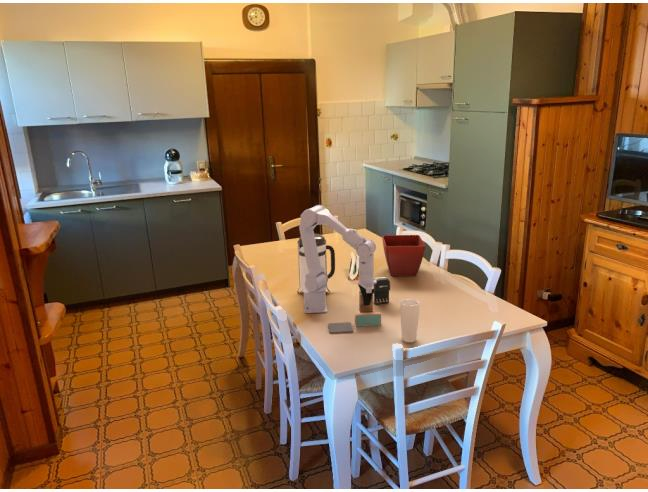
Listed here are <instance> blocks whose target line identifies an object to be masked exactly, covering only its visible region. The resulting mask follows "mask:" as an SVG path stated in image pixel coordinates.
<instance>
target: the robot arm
mask: <svg viewBox="0 0 648 492" xmlns="http://www.w3.org/2000/svg"><path fill="white" fill-rule="evenodd" d="M319 225H320V226H321V225H322V226H323V225H326V226H327V227H329V228H330V229H332V230H333V231H335V232H337V233H338V234H340V235H341V237H342V240H343V241H344V242H345V243H346V244H347V245H349V246H350V247H351V248H352V249H354V250H355V252H356V254H357V256H358V284H357V286H358V287H359V291H361V293H362V296H363V302H364V305H365V306H368V305H370V302H371V298H372V295H373V296H374V292H375V290H374V289H373V285H374V284H376V283H377V282H376V280H374V279H375V278H374V277H375V276H374V273H375V272H374V266H375V265H374V263H375V261H374V260H375V259H374V258H375V257H374V255H375V254H374V253H375V252H376V249H377V246H376V243H375V242H374V241H373V239H370V238H369V239H367V238H366V237H364V236H363V235H361V234H360V233H359V232H358V229H356V228H355V229H353V228H347V227H346V225H344V224H343V223H342V222H341V221H340V220H338V219H337V218H336V217H335V216H334V215H332V214H331V212H330V211H329V209H327V208H325V206H323V205H321V204H316V205H314V206H313V207H311V208H306V209H305V210H304V211H303V212H302V213H301V214H300V223H299V227H298V230H299V234H300V237H301V239H302V244H303V249H304V253H305V258H306V263H307V268H308V269H307V272H306V274H305V278H306V281H305V287H306V288H307V290H304V292H303V308H304V309H303V310H304V314H315V313H316V314H318V313H319V314H320V313H327V312H328V307H327V296H326V294H327V293H326V292H327V291H326V290H327V289H326V290H325V287H326V288H327V286H326V284H327V285H328V282H329V279H328V276H327V275H328V273H327V274H326V273H325V270H324V268H323V267H321V266H320V261H319V256H318V251H317V246H316V241H315V236H314V234H315V231H314V230H315V228H316V226H319Z"/></svg>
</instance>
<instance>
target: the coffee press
mask: <svg viewBox="0 0 648 492" xmlns="http://www.w3.org/2000/svg"><path fill="white" fill-rule="evenodd" d="M314 236H315V241H316V246H317V251H318V256H319V261H320V266H321V267H323V268H324V270H325V273H326V274H327V276H328V280H329V279H331V278H333V276H334V275H335V271H336V253H335V252H336V251H335V249H334V247H333V246H331V245H328V244H327V239H326V237H325V236H324V235H322V234H319V233H314ZM326 244H327V245H326ZM327 250H329V252H330V272H329V273H328V271H327V267H328V266H327V265H328V263H327V262H328V261H327ZM297 253H298V276H299V277H298V279H299V282H298V283H299V288H298V289H297V291H296V292H297V293H298V294H301V293H304V290H307V288H306V287H305V281H306V278H305V274H306V272H307V269H308V268H307V263H306V258H305V253H304V249H303V244H302V239H301V236H300V237H299V238H298V240H297ZM299 290H300V291H299ZM325 290H327V291H326V294H327V295H329V294H330V292H331V290H330V289H329V287H328V283H327V284H326V287H325ZM299 292H300V293H299Z"/></svg>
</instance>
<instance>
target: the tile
mask: <svg viewBox="0 0 648 492" xmlns="http://www.w3.org/2000/svg"><path fill="white" fill-rule="evenodd" d="M354 324H355V325H354V326H355V327H371V326H372V327H374V326H376V327H377V326H382V313H381V311H373V312H368V313H360V312H355V313H354Z"/></svg>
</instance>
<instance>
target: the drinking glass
mask: <svg viewBox="0 0 648 492" xmlns="http://www.w3.org/2000/svg"><path fill="white" fill-rule="evenodd" d="M399 312H400V326H401V327H400V328H401V340H402V341H403V342H404V343H407V344H408V343H414V342H416V341H417V335H418V334H417V333H418V328H419V327H418V325H419V320H420V319H419V318H420V301H419V300H417V299H415V298H404V299H402V300H401V301H400V309H399Z"/></svg>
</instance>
